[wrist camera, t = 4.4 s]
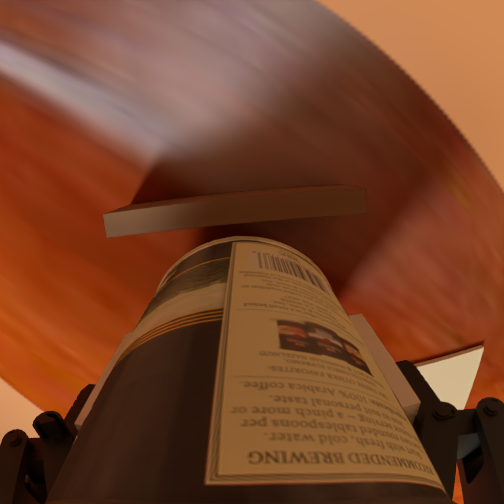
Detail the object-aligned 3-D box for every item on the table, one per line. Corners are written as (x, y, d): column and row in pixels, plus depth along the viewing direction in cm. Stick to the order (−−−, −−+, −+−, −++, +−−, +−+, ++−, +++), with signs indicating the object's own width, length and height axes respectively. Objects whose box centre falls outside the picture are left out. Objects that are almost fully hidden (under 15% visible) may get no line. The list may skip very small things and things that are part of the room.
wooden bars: (129, 204, 19) (103, 214, 15) (342, 184, 18) (365, 189, 15) (173, 403, 22) (163, 439, 19) (339, 390, 22) (352, 425, 19)
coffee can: (168, 395, 18) (119, 599, 5) (140, 239, 16) (-69, 451, 2) (329, 390, 19) (391, 592, 5) (343, 231, 16) (565, 439, 2)
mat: (352, 376, 22) (354, 380, 22) (481, 344, 22) (483, 347, 22) (339, 470, 25) (340, 474, 25) (447, 439, 25) (449, 442, 25)
